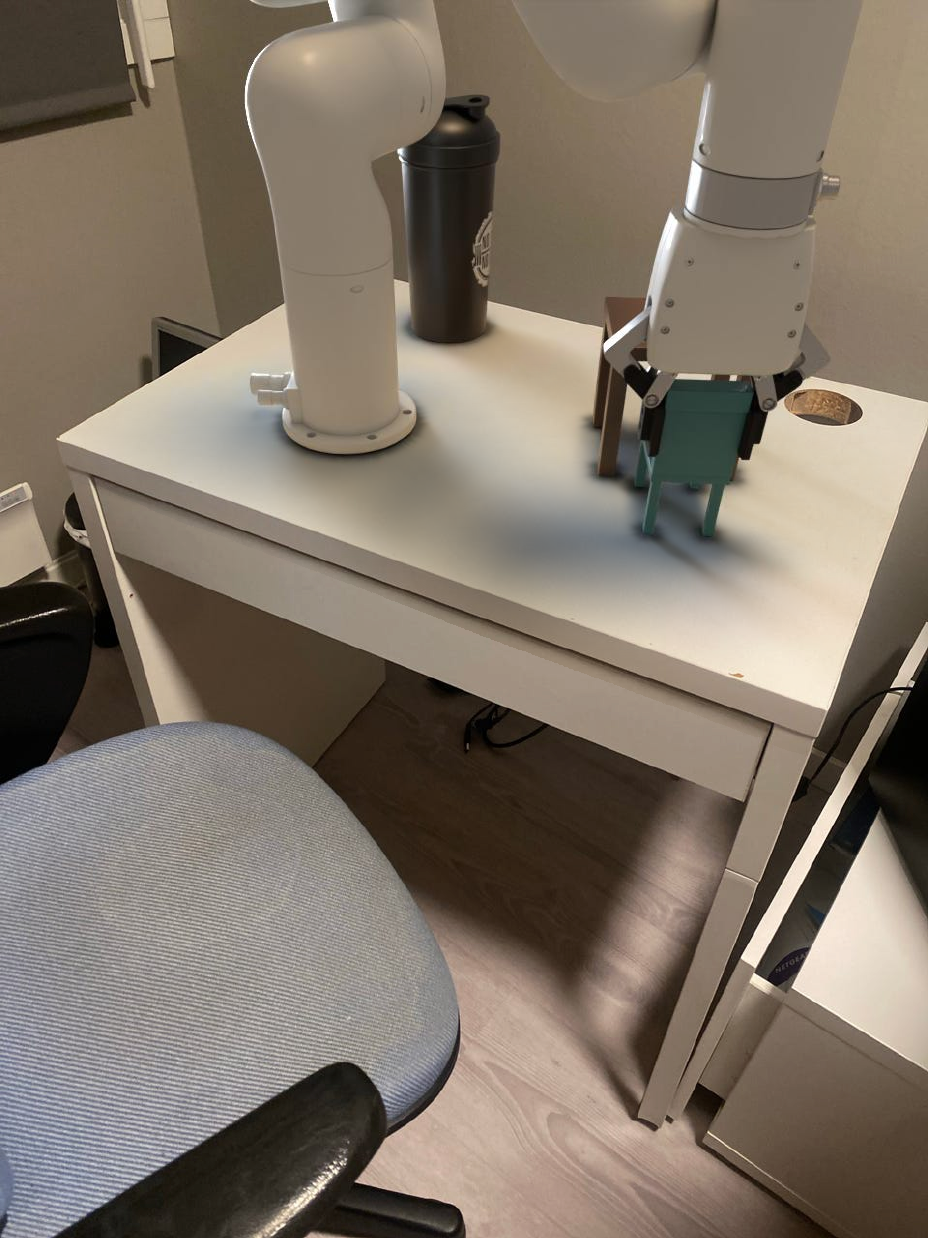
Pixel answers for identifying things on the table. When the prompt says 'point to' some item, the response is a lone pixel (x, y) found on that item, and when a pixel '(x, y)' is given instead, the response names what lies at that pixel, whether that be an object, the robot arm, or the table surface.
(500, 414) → the table surface
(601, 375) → the side table
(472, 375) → the table surface
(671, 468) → the chair
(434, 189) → the water bottle
